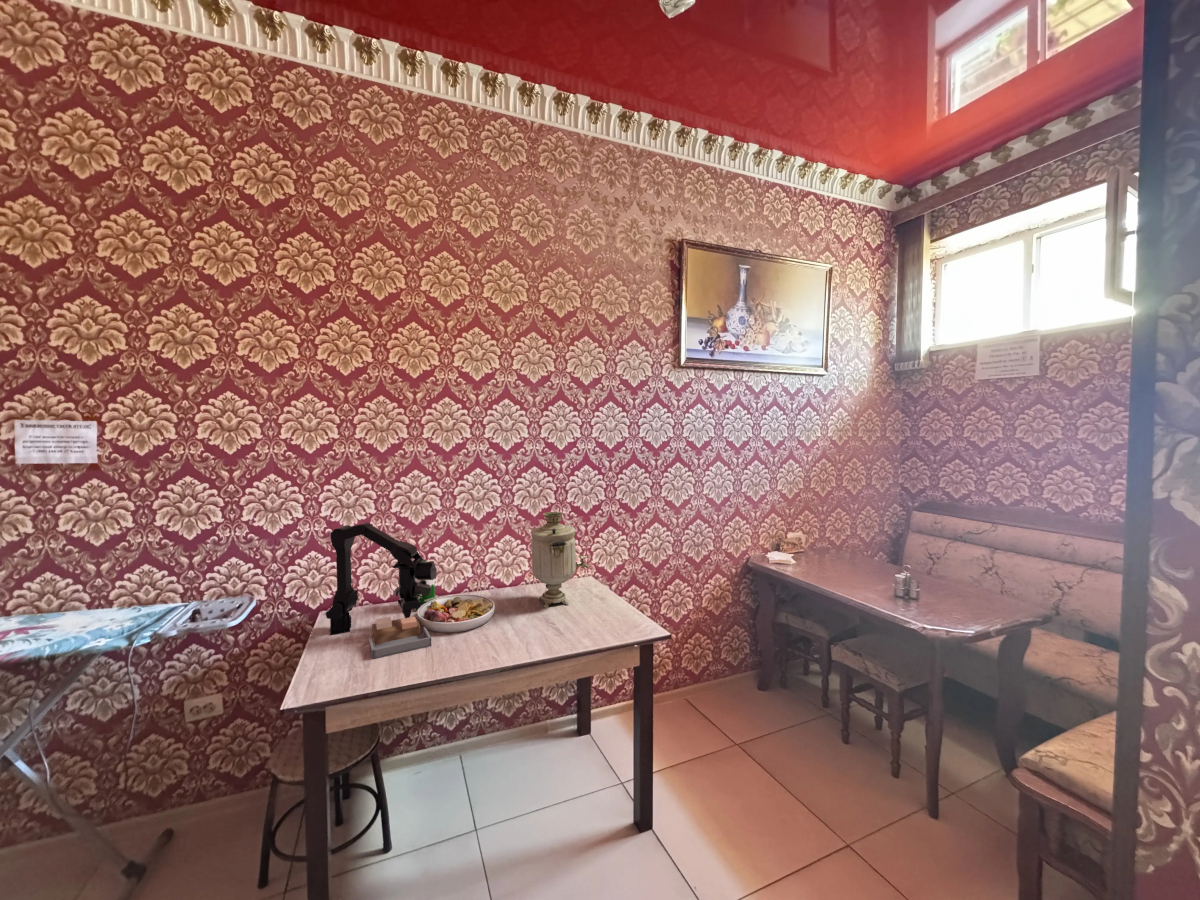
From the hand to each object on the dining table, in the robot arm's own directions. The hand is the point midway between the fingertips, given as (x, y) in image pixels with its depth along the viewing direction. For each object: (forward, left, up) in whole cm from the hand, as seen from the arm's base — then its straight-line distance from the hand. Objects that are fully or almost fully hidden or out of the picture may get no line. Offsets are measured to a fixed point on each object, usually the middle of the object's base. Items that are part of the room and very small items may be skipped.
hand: (407, 619), depth 176 cm
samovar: (+63, -2, -5) cm, 64 cm away
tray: (-4, -11, -5) cm, 12 cm away
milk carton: (+10, +22, -5) cm, 25 cm away
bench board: (-4, -1, -5) cm, 6 cm away
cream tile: (-8, +1, -1) cm, 8 cm away
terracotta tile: (0, -3, -1) cm, 3 cm away
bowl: (+19, +3, -6) cm, 20 cm away
